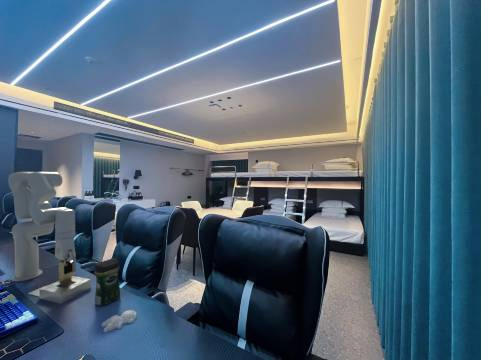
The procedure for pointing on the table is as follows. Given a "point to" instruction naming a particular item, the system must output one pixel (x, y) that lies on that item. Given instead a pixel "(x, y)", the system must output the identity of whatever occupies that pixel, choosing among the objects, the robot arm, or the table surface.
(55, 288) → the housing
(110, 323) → the astronaut figurine
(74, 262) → the bath foam
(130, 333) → the table surface
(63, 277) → the end cover
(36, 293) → the mat
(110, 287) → the coffee jar
